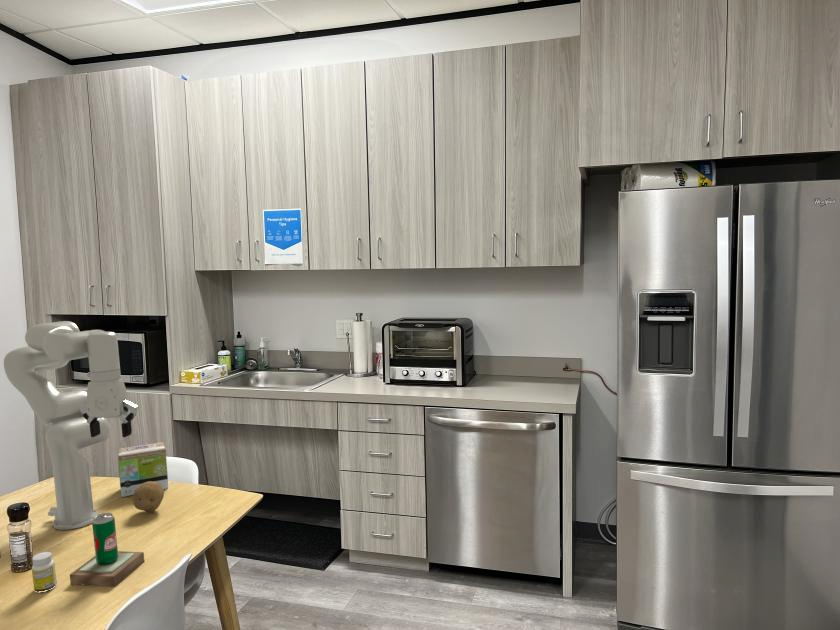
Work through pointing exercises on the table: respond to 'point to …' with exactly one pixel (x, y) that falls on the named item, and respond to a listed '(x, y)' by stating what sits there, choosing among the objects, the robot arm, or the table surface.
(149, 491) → the natural sponge
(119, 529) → the table surface
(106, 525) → the soda can
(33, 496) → the table surface
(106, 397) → the robot arm
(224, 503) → the table surface
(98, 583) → the walnut picture frame
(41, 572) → the supplement bottle
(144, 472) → the tea box
